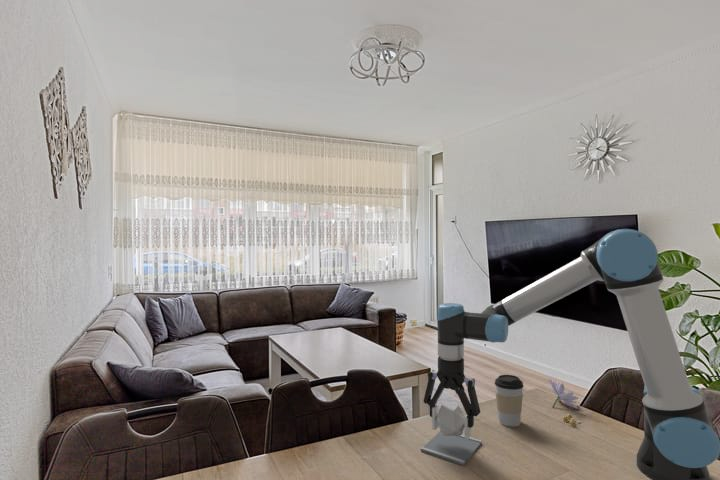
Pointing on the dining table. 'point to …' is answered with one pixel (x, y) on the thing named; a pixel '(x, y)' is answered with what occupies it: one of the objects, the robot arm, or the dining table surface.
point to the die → (451, 420)
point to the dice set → (572, 421)
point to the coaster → (452, 447)
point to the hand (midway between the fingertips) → (451, 432)
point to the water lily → (563, 394)
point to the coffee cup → (509, 399)
